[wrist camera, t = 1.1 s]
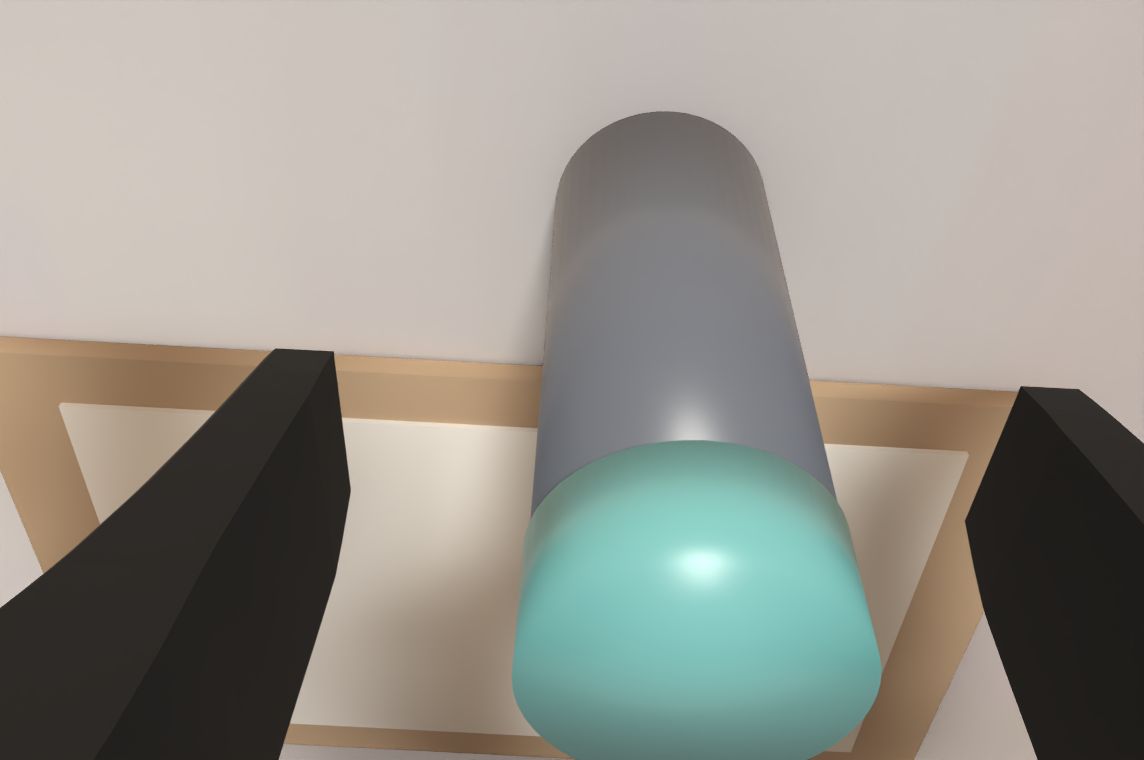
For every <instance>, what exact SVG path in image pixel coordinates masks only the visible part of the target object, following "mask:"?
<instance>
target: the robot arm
mask: <svg viewBox="0 0 1144 760" xmlns="http://www.w3.org/2000/svg"><path fill="white" fill-rule="evenodd" d="M350 494H351V487H350V479H349V471H348V463H347V455H346V447H345V439H344V431H343V423H342V415H341V406H340V398H339V390H338V382H337V374H336V366H335V358H334V352H333V351H313V350H294V349H274V350H273V351H272V352H271V353H270V354H269V355H267V356H266V357H265V358H264V359H263V360H262V361H261V363H260V364H259V365H258V366H257V367H256V368H255V369H254V370H253V371H252V372H251V373H250V374H249V375H248V377H247V378H246V379H245V380H244V381H243V382H242V383H241V384H240V385H239V386H238V387H237V389H236V390H235V391H234V392H233V393H232V394H231V395H230V396H229V397H228V398H227V399H226V400H225V402H224V403H223V404H222V405H221V406H220V407H219V408H218V409H217V410H216V411H215V412H214V413H213V414H212V415H211V416H210V418H209V419H208V420H207V421H206V422H205V423H204V424H203V425H202V426H201V427H200V428H199V429H198V430H197V431H196V432H195V433H194V434H193V435H192V436H191V437H190V439H189V440H188V441H187V442H186V443H185V444H184V445H183V446H182V447H181V448H180V449H179V450H178V451H177V452H176V453H175V454H174V455H173V456H172V457H171V458H170V459H169V460H168V461H167V462H166V463H165V464H164V465H163V466H162V467H161V468H160V469H159V470H158V471H157V472H156V473H155V474H154V475H153V476H152V477H151V478H150V479H149V480H148V481H147V482H146V483H145V484H144V485H142V486H141V487H140V488H139V489H138V490H137V491H136V492H135V493H134V494H133V495H132V496H131V497H130V498H129V499H128V500H127V501H125V502H124V503H123V504H122V505H121V506H120V507H119V508H118V509H117V510H116V511H114V512H113V513H112V514H111V515H110V516H109V517H108V518H107V519H106V520H104V521H103V522H102V523H101V524H100V525H99V526H98V527H97V528H96V529H95V530H93V531H92V532H91V533H90V534H89V535H88V536H87V537H86V538H85V539H84V540H82V541H81V542H80V543H79V544H78V545H77V546H76V547H75V548H73V549H72V550H71V551H70V552H69V553H68V554H66V555H65V556H64V557H63V558H62V559H61V560H59V561H58V562H57V563H56V564H55V565H53V566H52V567H51V568H50V569H49V570H47V571H46V572H45V573H44V574H43V575H41V576H40V577H39V578H38V579H36V580H35V581H34V582H33V583H31V584H30V585H29V586H28V587H27V588H25V589H24V590H23V591H21V592H20V593H19V594H18V595H16V596H15V597H14V598H12V599H11V600H10V601H9V602H7V603H6V604H5V605H3V606H2V607H1V608H0V760H278V759H279V756H280V753H281V750H282V747H283V744H284V740H285V737H286V734H287V731H288V728H289V724H290V721H291V718H292V715H293V712H294V709H295V705H296V702H297V699H298V696H299V693H300V689H301V686H302V683H303V680H304V677H305V674H306V670H307V667H308V664H309V661H310V658H311V655H312V651H313V648H314V645H315V642H316V639H317V635H318V632H319V629H320V626H321V622H322V619H323V616H324V613H325V609H326V606H327V603H328V600H329V596H330V593H331V590H332V586H333V583H334V580H335V576H336V572H337V566H338V561H339V556H340V551H341V545H342V540H343V535H344V529H345V523H346V517H347V511H348V505H349V500H350ZM965 525H966V530H967V535H968V540H969V546H970V551H971V556H972V561H973V566H974V571H975V575H976V580H977V584H978V589H979V593H980V597H981V602H982V606H983V609H984V612H985V615H986V618H987V621H988V624H989V627H990V630H991V632H992V635H993V638H994V641H995V644H996V646H997V649H998V652H999V655H1000V658H1001V660H1002V663H1003V666H1004V669H1005V672H1006V675H1007V677H1008V680H1009V683H1010V685H1011V688H1012V691H1013V694H1014V696H1015V699H1016V702H1017V704H1018V707H1019V710H1020V713H1021V715H1022V718H1023V721H1024V724H1025V726H1026V729H1027V732H1028V734H1029V737H1030V740H1031V743H1032V745H1033V748H1034V751H1035V754H1036V756H1037V759H1038V760H1144V443H1142V442H1141V441H1140V440H1139V439H1138V438H1137V437H1136V436H1134V435H1133V434H1132V433H1131V432H1130V431H1129V430H1128V429H1126V428H1125V427H1124V426H1123V425H1122V424H1121V423H1120V422H1118V421H1117V420H1116V419H1115V418H1114V417H1112V416H1111V415H1110V414H1109V413H1108V412H1107V411H1105V410H1104V409H1103V408H1102V407H1101V406H1099V405H1098V404H1097V403H1096V402H1094V401H1093V400H1092V399H1091V398H1089V397H1088V396H1087V395H1085V394H1084V393H1083V392H1082V391H1080V390H1079V389H1063V388H1043V387H1024V386H1021V387H1020V390H1019V392H1018V394H1017V397H1016V399H1015V402H1014V404H1013V406H1012V409H1011V411H1010V414H1009V416H1008V418H1007V421H1006V423H1005V426H1004V428H1003V430H1002V433H1001V435H1000V438H999V440H998V442H997V445H996V447H995V450H994V452H993V454H992V457H991V459H990V462H989V464H988V466H987V469H986V471H985V474H984V476H983V478H982V481H981V483H980V486H979V488H978V490H977V493H976V495H975V498H974V500H973V502H972V505H971V507H970V510H969V512H968V514H967V517H966V519H965Z"/></svg>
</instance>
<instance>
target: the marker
mask: <svg viewBox="0 0 1144 760" xmlns="http://www.w3.org/2000/svg"><path fill="white" fill-rule="evenodd" d="M881 670H882V667H881V661H880V655H879V650H878V646H877V642H876V638H875V634H874V629H873V625H872V621H871V617H870V613H869V609H868V604H867V600H866V596H865V592H864V588H863V583H862V579H861V575H860V571H859V567H858V562H857V558H856V554H855V550H854V546H853V541H852V537H851V533H850V529H849V525H848V522H847V520H846V517H845V515H844V512H843V510H842V509H841V507H840V505H839V504H838V502H837V498H836V494H835V489H834V485H833V481H832V476H831V472H830V468H829V463H828V459H827V455H826V451H825V446H824V442H823V438H822V433H821V429H820V425H819V421H818V416H817V412H816V408H815V403H814V399H813V395H812V391H811V386H810V382H809V378H808V373H807V369H806V365H805V360H804V356H803V352H802V348H801V343H800V339H799V335H798V330H797V326H796V322H795V318H794V313H793V309H792V305H791V300H790V296H789V292H788V287H787V283H786V279H785V275H784V270H783V266H782V262H781V257H780V253H779V249H778V245H777V240H776V236H775V232H774V227H773V223H772V219H771V215H770V210H769V206H768V202H767V197H766V193H765V189H764V184H763V180H762V177H761V174H760V171H759V168H758V166H757V164H756V162H755V161H754V159H753V157H752V155H751V154H750V153H749V151H748V150H747V149H746V147H745V146H744V145H743V144H742V143H741V142H740V141H739V140H738V139H737V138H736V137H735V136H734V135H732V134H731V133H730V132H728V131H727V130H726V129H724V128H722V127H721V126H719V125H717V124H715V123H713V122H711V121H709V120H706V119H704V118H701V117H698V116H694V115H690V114H686V113H678V112H650V113H642V114H638V115H634V116H630V117H627V118H624V119H622V120H619V121H617V122H614V123H612V124H610V125H609V126H607V127H605V128H603V129H601V130H600V131H599V132H597V133H596V134H594V135H593V136H592V137H590V138H589V139H588V140H587V141H586V142H585V143H584V144H583V145H582V146H581V147H580V148H579V149H578V150H577V152H576V153H575V154H574V155H573V156H572V158H571V160H570V161H569V163H568V165H567V166H566V168H565V170H564V173H563V175H562V177H561V180H560V183H559V187H558V191H557V199H556V209H555V222H554V234H553V246H552V259H551V271H550V283H549V296H548V308H547V320H546V333H545V345H544V357H543V370H542V382H541V394H540V407H539V419H538V431H537V444H536V456H535V468H534V481H533V493H532V505H531V518H530V522H529V524H528V527H527V530H526V533H525V536H524V543H523V551H522V563H521V575H520V586H519V598H518V609H517V621H516V633H515V644H514V656H513V667H512V687H513V693H514V696H515V699H516V703H517V705H518V707H519V709H520V711H521V713H522V714H523V716H524V718H525V719H526V720H527V722H528V723H529V724H530V725H531V727H532V728H533V729H534V730H535V731H536V732H537V733H538V734H539V735H540V736H541V737H542V738H543V739H544V740H546V741H547V742H548V743H550V744H551V745H553V746H554V747H555V748H557V749H558V750H560V751H561V752H563V753H565V754H567V755H569V756H570V757H572V758H574V759H576V760H808V759H810V758H812V757H814V756H816V755H818V754H820V753H821V752H823V751H825V750H827V749H828V748H830V747H832V746H833V745H835V744H836V743H837V742H839V741H840V740H841V739H843V738H844V737H845V736H847V735H848V734H849V733H850V732H851V731H852V730H853V729H854V728H855V727H856V726H857V725H858V724H859V723H860V722H861V721H862V719H863V718H864V717H865V716H866V714H867V713H868V712H869V710H870V709H871V707H872V705H873V703H874V701H875V699H876V697H877V694H878V690H879V687H880V683H881Z"/></svg>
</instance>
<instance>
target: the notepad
mask: <svg viewBox="0 0 1144 760" xmlns="http://www.w3.org/2000/svg"><path fill="white" fill-rule="evenodd" d="M271 352H272V351H256V350H238V349H220V348H201V347H183V346H165V345H146V344H128V343H109V342H91V341H73V340H54V339H36V338H18V337H0V471H1V473H2V475H3V478H4V480H5V483H6V485H7V487H8V490H9V492H10V494H11V497H12V499H13V502H14V504H15V506H16V509H17V511H18V513H19V516H20V518H21V521H22V523H23V525H24V528H25V530H26V532H27V535H28V537H29V540H30V542H31V544H32V547H33V549H34V551H35V554H36V556H37V559H38V561H39V563H40V566H41V568H42V570H43V573H45V572H46V571H47V570H49V569H50V568H51V567H52V566H53V565H55V564H56V563H57V562H58V561H59V560H61V559H62V558H63V557H64V556H65V555H66V554H68V553H69V552H70V551H71V550H72V549H73V548H75V547H76V546H77V545H78V544H79V543H80V542H81V541H82V540H84V539H85V538H86V537H87V536H88V535H89V534H90V533H91V532H92V531H93V530H95V529H96V528H97V527H98V526H99V525H100V524H101V523H102V522H103V521H104V520H106V519H107V518H108V517H109V516H110V515H111V514H112V513H113V512H114V511H116V510H117V509H118V508H119V507H120V506H121V505H122V504H123V503H124V502H125V501H127V500H128V499H129V498H130V497H131V496H132V495H133V494H134V493H135V492H136V491H137V490H138V489H139V488H140V487H141V486H142V485H144V484H145V483H146V482H147V481H148V480H149V479H150V478H151V477H152V476H153V475H154V474H155V473H156V472H157V471H158V470H159V469H160V468H161V467H162V466H163V465H164V464H165V463H166V462H167V461H168V460H169V459H170V458H171V457H172V456H173V455H174V454H175V453H176V452H177V451H178V450H179V449H180V448H181V447H182V446H183V445H184V444H185V443H186V442H187V441H188V440H189V439H190V437H191V436H192V435H193V434H194V433H195V432H196V431H197V430H198V429H199V428H200V427H201V426H202V425H203V424H204V423H205V422H206V421H207V420H208V419H209V418H210V416H211V415H212V414H213V413H214V412H215V411H216V410H217V409H218V408H219V407H220V406H221V405H222V404H223V403H224V402H225V400H226V399H227V398H228V397H229V396H230V395H231V394H232V393H233V392H234V391H235V390H236V389H237V387H238V386H239V385H240V384H241V383H242V382H243V381H244V380H245V379H246V378H247V377H248V375H249V374H250V373H251V372H252V371H253V370H254V369H255V368H256V367H257V366H258V365H259V364H260V363H261V361H262V360H263V359H264V358H265V357H266V356H267V355H269V354H270V353H271ZM334 358H335V366H336V374H337V382H338V390H339V398H340V406H341V415H342V423H343V431H344V439H345V447H346V455H347V463H348V471H349V479H350V487H351V494H350V500H349V505H348V511H347V517H346V523H345V529H344V535H343V540H342V545H341V551H340V556H339V561H338V566H337V572H336V576H335V580H334V583H333V586H332V590H331V593H330V596H329V600H328V603H327V606H326V609H325V613H324V616H323V619H322V622H321V626H320V629H319V632H318V635H317V639H316V642H315V645H314V648H313V651H312V655H311V658H310V661H309V664H308V667H307V670H306V674H305V677H304V680H303V683H302V686H301V689H300V693H299V696H298V699H297V702H296V705H295V709H294V712H293V715H292V718H291V721H290V724H289V728H288V731H287V734H286V737H285V740H284V744H298V745H317V746H337V747H356V748H376V749H395V750H414V751H434V752H453V753H473V754H492V755H512V756H531V757H550V758H570V759H574V758H572V757H570V756H569V755H567V754H565V753H563V752H561V751H560V750H558V749H557V748H555V747H554V746H553V745H551V744H550V743H548V742H547V741H546V740H544V739H543V738H542V737H541V736H540V735H539V734H538V733H537V732H536V731H535V730H534V729H533V728H532V727H531V725H530V724H529V723H528V722H527V720H526V719H525V718H524V716H523V714H522V713H521V711H520V709H519V707H518V705H517V703H516V699H515V696H514V693H513V687H512V667H513V656H514V644H515V633H516V621H517V609H518V598H519V586H520V575H521V563H522V551H523V543H524V536H525V533H526V530H527V527H528V524H529V522H530V518H531V505H532V493H533V481H534V468H535V456H536V444H537V431H538V419H539V407H540V394H541V382H542V370H543V366H532V365H514V364H495V363H477V362H458V361H440V360H422V359H403V358H385V357H367V356H348V355H334ZM809 382H810V386H811V391H812V395H813V399H814V403H815V408H816V412H817V416H818V421H819V425H820V429H821V433H822V438H823V442H824V446H825V451H826V455H827V459H828V463H829V468H830V472H831V476H832V481H833V485H834V489H835V494H836V498H837V502H838V504H839V505H840V507H841V509H842V510H843V512H844V515H845V517H846V520H847V522H848V525H849V529H850V533H851V537H852V541H853V546H854V550H855V554H856V558H857V562H858V567H859V571H860V575H861V579H862V583H863V588H864V592H865V596H866V600H867V604H868V609H869V613H870V617H871V621H872V625H873V629H874V634H875V638H876V642H877V646H878V650H879V655H880V661H881V667H882V670H881V683H880V687H879V690H878V694H877V697H876V699H875V701H874V703H873V705H872V707H871V709H870V710H869V712H868V713H867V714H866V716H865V717H864V718H863V719H862V721H861V722H860V723H859V724H858V725H857V726H856V727H855V728H854V729H853V730H852V731H851V732H850V733H849V734H848V735H847V736H845V737H844V738H843V739H841V740H840V741H839V742H837V743H836V744H835V745H833V746H832V747H830V748H828V749H827V750H825V751H823V752H821V753H820V754H818V755H816V756H814V757H812V758H810V759H808V760H914V758H915V756H916V754H917V752H918V750H919V748H920V746H921V744H922V741H923V739H924V737H925V735H926V733H927V731H928V729H929V727H930V724H931V722H932V720H933V718H934V716H935V714H936V712H937V710H938V708H939V705H940V703H941V701H942V699H943V697H944V695H945V693H946V691H947V689H948V686H949V684H950V682H951V680H952V678H953V676H954V674H955V672H956V669H957V667H958V665H959V663H960V661H961V659H962V657H963V655H964V653H965V650H966V648H967V646H968V644H969V642H970V640H971V638H972V636H973V634H974V631H975V629H976V627H977V625H978V623H979V621H980V619H981V617H982V614H983V612H984V609H983V606H982V602H981V597H980V593H979V589H978V584H977V580H976V575H975V571H974V566H973V561H972V556H971V551H970V546H969V540H968V535H967V530H966V525H965V519H966V517H967V514H968V512H969V510H970V507H971V505H972V502H973V500H974V498H975V495H976V493H977V490H978V488H979V486H980V483H981V481H982V478H983V476H984V474H985V471H986V469H987V466H988V464H989V462H990V459H991V457H992V454H993V452H994V450H995V447H996V445H997V442H998V440H999V438H1000V435H1001V433H1002V430H1003V428H1004V426H1005V423H1006V421H1007V418H1008V416H1009V414H1010V411H1011V409H1012V406H1013V404H1014V402H1015V399H1016V397H1017V394H1018V392H1010V391H991V390H973V389H954V388H936V387H918V386H899V385H881V384H863V383H844V382H826V381H809Z"/></svg>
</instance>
